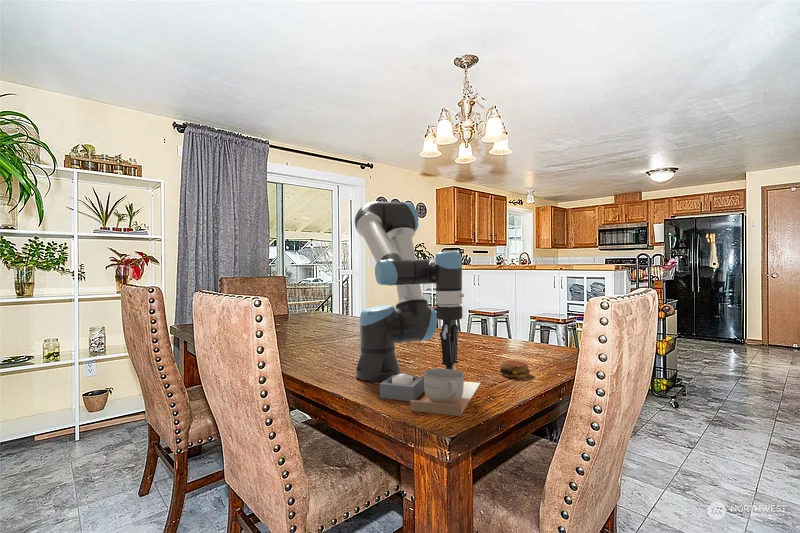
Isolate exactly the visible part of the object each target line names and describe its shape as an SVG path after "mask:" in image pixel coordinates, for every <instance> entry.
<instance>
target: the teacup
mask: <svg viewBox="0 0 800 533" xmlns="http://www.w3.org/2000/svg"><path fill="white" fill-rule="evenodd" d="M423 374H424V376H423V377H424V395H426V396H427V397H428V398H429V399H430V400H431V401H432V402H436V403H446V404H454V403H456V402H457V401H458V400H459V399H460V398H461V397H462V394H463V386H464V382H465V380H464V379H465V373H464V372H463V371H461V370H457V369H455V370H452V369H445V368H429V369H426V370H424V371H423Z"/></svg>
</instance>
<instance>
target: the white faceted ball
mask: <svg viewBox="0 0 800 533" xmlns="http://www.w3.org/2000/svg"><path fill="white" fill-rule="evenodd" d="M400 373H401V374H398V375H394V376H392V383H394V384H406V385H410V384H412V383H413V377H414V376H413V375H411V374H408V373H405V372H400Z"/></svg>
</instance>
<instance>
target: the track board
mask: <svg viewBox="0 0 800 533" xmlns="http://www.w3.org/2000/svg"><path fill="white" fill-rule="evenodd" d="M480 385H481V382H475V381H464V386H463V394H462V397H461V398H460V399H459V400H458V401H457V402H456V403H454V404H446V403H436V402H432V401H431V400H430V399H429V398H428V397H427V396H426V395H425V394H423V396H422V397H421V398H420V399H418V400H417V399H416V400H411V401H409V402H410V404H409V406H410V411H412V412H420V413H421V412H422V413H428V414H429V413H430V414H439V415H447V416H457V417H458V416H459V417H461V416H462V414H463V413H464V411H465V409H466V408H467V406H468V405H469V403H470V401H471V400H472V398H473V396H474V395H475V394H476V391H477V390H478V389H479V387H480Z"/></svg>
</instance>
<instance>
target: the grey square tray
mask: <svg viewBox="0 0 800 533" xmlns="http://www.w3.org/2000/svg"><path fill="white" fill-rule="evenodd" d="M392 376H394V375H392ZM392 376H390V377H389V378H387V379H386V380H384V381H381V382H380V383H379V398H380V399H384V398H387V399H386V400H394V399H396V400H395V401H406V402H410V401H411V400H416V401H417V399H418V398H419V397H421V395H422V394H423V393H425V391H424V376H413V383H412V384H410V385H406V384H394V383H392Z"/></svg>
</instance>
